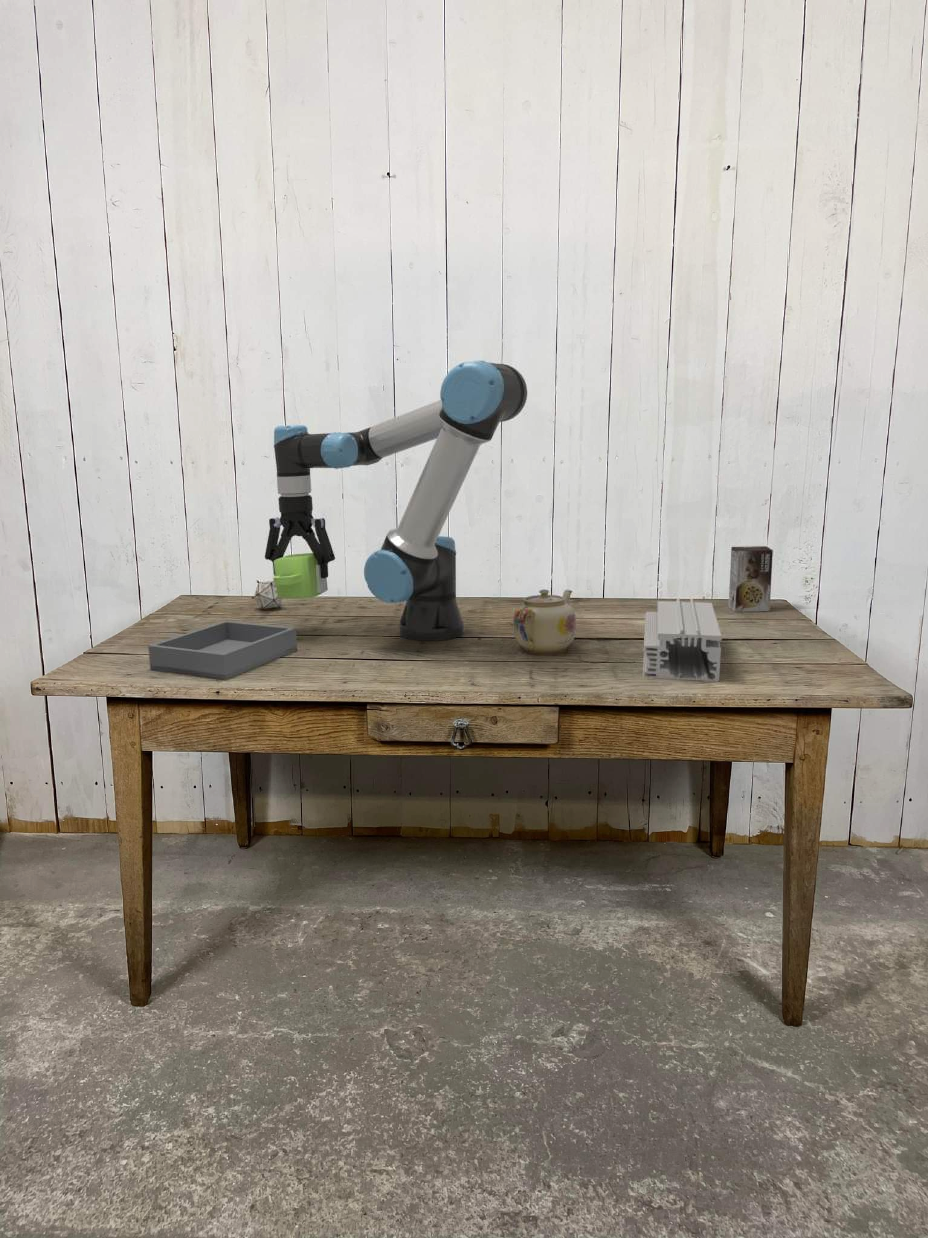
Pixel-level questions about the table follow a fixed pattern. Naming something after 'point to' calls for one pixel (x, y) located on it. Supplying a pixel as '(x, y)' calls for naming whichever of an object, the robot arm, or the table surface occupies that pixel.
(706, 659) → the aluminum extrusion profile
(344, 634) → the table surface
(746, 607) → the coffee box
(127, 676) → the table surface
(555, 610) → the teapot
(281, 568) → the green handled block
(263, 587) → the game die
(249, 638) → the gray tray
